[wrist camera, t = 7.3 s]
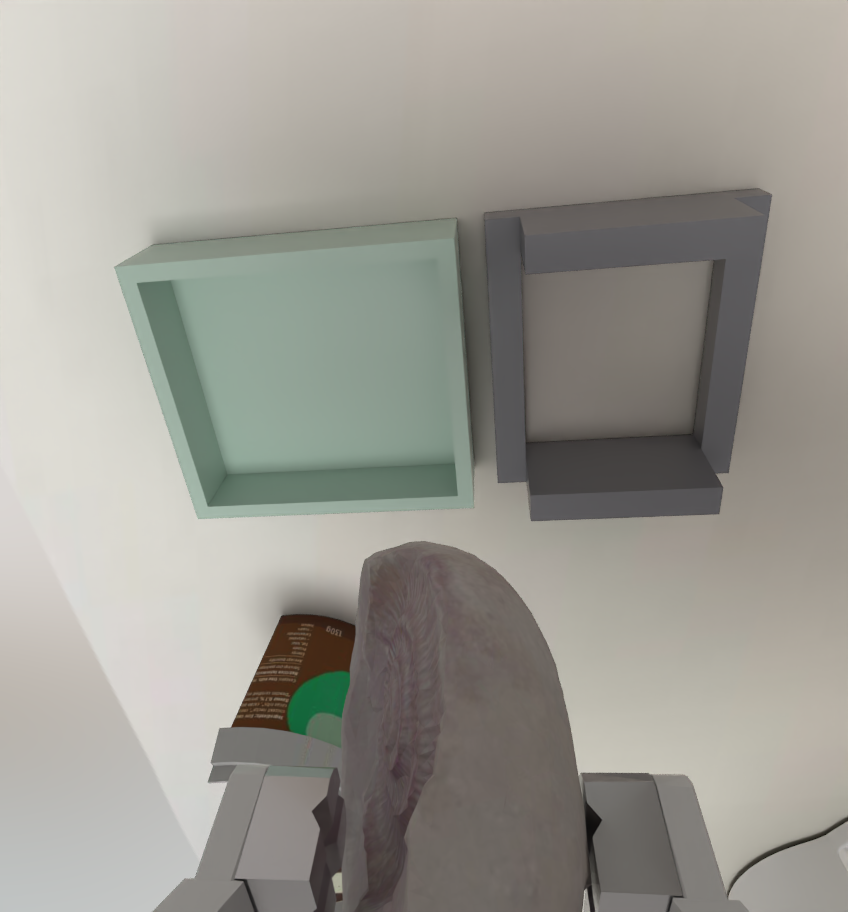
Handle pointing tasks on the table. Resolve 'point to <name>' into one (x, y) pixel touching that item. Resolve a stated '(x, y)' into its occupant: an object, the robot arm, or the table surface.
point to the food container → (293, 704)
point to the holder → (723, 363)
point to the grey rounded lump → (456, 746)
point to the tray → (311, 368)
